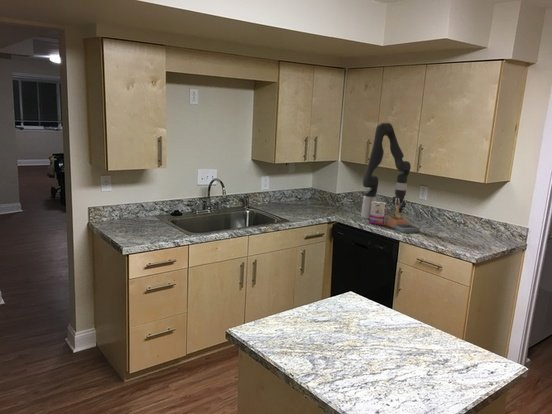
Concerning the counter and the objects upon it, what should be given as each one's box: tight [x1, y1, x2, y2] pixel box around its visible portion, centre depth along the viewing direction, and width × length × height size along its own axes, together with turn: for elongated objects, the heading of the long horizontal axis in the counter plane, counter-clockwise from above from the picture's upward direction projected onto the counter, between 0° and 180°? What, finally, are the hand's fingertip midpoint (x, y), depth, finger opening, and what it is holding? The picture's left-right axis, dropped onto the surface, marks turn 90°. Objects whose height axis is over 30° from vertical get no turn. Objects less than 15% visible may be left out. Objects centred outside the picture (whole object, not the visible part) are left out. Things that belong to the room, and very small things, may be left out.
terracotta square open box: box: [386, 215, 408, 229], centre depth 332 cm, size 10×10×6 cm
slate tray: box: [392, 223, 420, 234], centre depth 323 cm, size 11×14×3 cm
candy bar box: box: [368, 200, 388, 226], centre depth 336 cm, size 11×5×16 cm, turn 62°
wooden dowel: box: [394, 204, 402, 220], centre depth 331 cm, size 4×4×14 cm
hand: (398, 212), depth 331 cm, fingers closed on wooden dowel, 4 cm apart
